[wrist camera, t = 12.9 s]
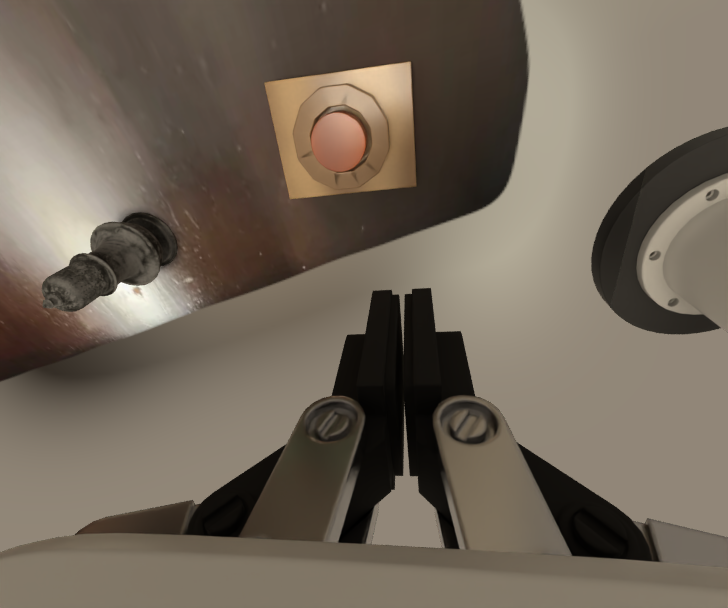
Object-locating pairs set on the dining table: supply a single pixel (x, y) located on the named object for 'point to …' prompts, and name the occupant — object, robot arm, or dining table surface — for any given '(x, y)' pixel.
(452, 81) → the dining table surface
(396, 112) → the button block
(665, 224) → the robot arm
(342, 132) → the button
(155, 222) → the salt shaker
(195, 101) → the dining table surface
